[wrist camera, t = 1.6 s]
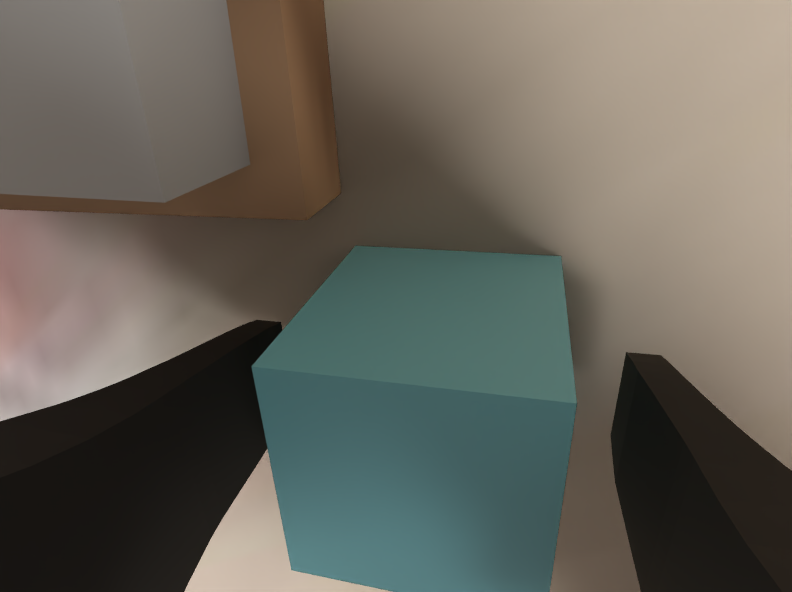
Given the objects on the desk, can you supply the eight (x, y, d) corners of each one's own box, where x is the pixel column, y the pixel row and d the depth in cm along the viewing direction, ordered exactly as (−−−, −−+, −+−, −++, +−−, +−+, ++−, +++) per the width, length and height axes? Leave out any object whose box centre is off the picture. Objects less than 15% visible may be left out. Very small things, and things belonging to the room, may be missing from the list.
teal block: (542, 423, 13) (544, 623, 8) (368, 402, 14) (291, 570, 9) (560, 254, 11) (577, 403, 6) (356, 244, 12) (251, 366, 7)
